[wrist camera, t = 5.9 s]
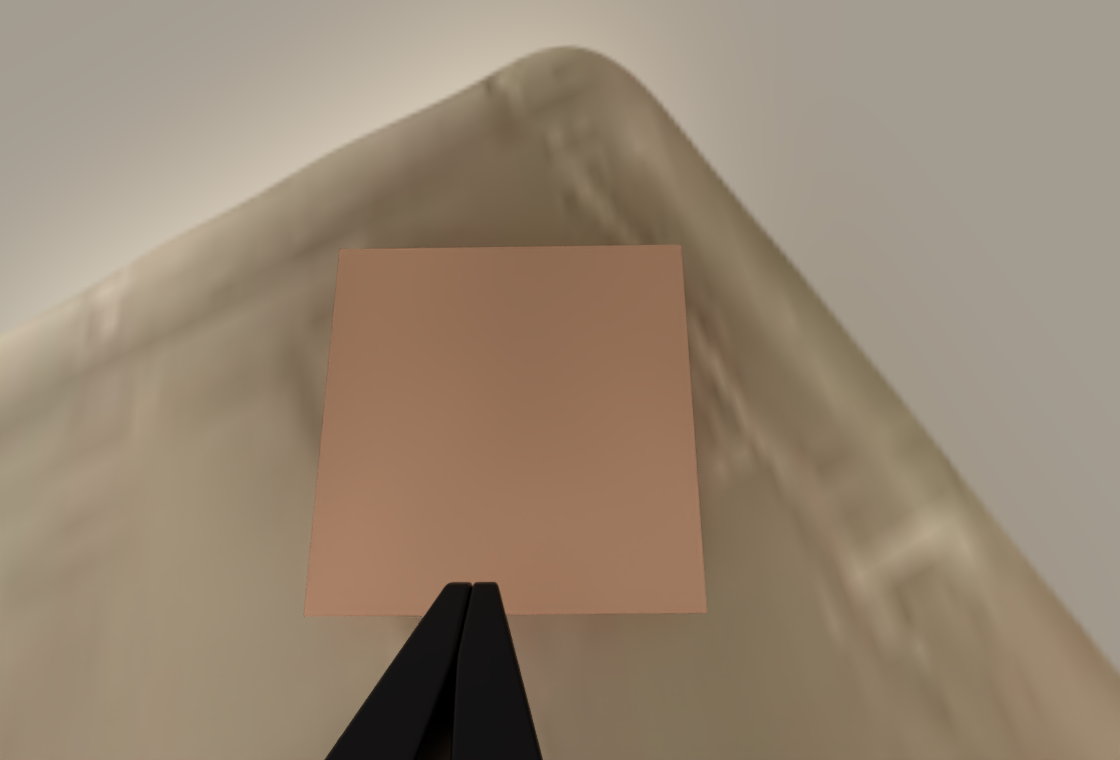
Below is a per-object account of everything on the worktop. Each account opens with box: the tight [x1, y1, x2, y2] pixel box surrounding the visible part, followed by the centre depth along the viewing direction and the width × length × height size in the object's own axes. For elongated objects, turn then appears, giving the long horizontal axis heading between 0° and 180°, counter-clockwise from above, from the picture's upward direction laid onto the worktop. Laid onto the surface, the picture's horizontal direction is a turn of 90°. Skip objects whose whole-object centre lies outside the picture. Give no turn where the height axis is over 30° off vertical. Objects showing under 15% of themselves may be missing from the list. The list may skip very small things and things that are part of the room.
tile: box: [304, 244, 707, 616], centre depth 16 cm, size 2×10×10 cm
